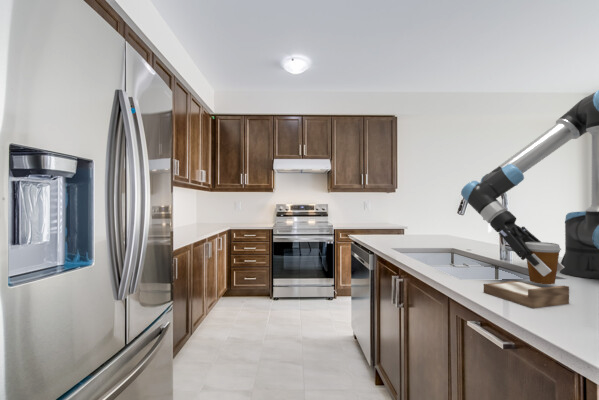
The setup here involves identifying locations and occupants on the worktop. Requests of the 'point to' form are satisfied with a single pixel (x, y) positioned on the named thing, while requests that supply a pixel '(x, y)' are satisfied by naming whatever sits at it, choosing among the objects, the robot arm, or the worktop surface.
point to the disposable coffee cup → (544, 261)
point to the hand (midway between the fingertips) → (554, 271)
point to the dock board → (529, 293)
